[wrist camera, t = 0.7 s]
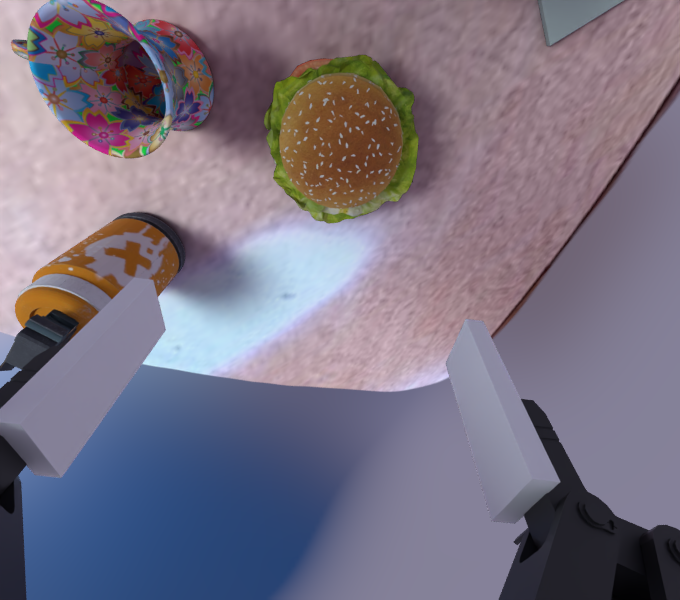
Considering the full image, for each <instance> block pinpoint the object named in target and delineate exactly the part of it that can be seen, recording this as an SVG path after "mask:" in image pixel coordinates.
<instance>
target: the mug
mask: <svg viewBox="0 0 680 600" xmlns="http://www.w3.org/2000/svg"><path fill="white" fill-rule="evenodd" d="M11 46H12V50H13V51H14V53H15V54H17V55H18V56H20V57H22V58H25V59H27V60H29V64H30V68H31V71H32V75H33V78H34V80H35V83H36V85H37V87H38V89H39V91H40V93H41V95H42V97H43V99H44V100H45V102H46V104H47V105H48V107H49V108H50V110H51V111H52V112H53V114H54V115H55V116H56V117H57V119H58V120H59V121H60V122H61V123H62V124H63V125H64V126H65V127H66V128H67V129H68V130H69V131H70V132H71V133H72V134H73V135H74V136H76V137H77V138H78V139H80V140H81V141H82V142H84V143H85V144H87V145H88V146H90V147H92V148H94V149H95V150H98V151H100V152H102V153H105V154H107V155H111V156H114V157H119V158H138V157H142V156H145V155H148V154H150V153H152V152H153V151H155V150H156V149H157V148H159V147H160V146H161V144H162V143H163V142H164V141H165V139H166V137H167V135H168V133H169V131H170V130H174V131H186V130H190V129H193V128H195V127H197V126H199V125H200V124H201V123H202V122H203V121H204V120H205V119H206V117H207V116H208V114H209V112H210V110H211V107H212V104H213V98H214V86H213V79H212V75H211V71H210V68H209V66H208V63H207V61H206V59H205V57H204V55H203V54H202V52H201V51H200V49H199V48H198V46H197V45H196V44H195V43H194V41H193V40H192V39H191V38H190V37H189V36H188V35H186V34H185V33H184V32H183V31H182V30H180V29H179V28H177V27H175V26H174V25H172V24H170V23H167V22H164V21H160V20H154V19H151V20H143V21H140V22H138V23H136V24H134V25H132V24H131V23H130V22H129V21H128V20H127V19H126V18H124V17H123V16H122V15H121V14H119V13H118V12H116V11H115V10H113V9H112V8H110V7H108V6H106V5H105V4H102V3H100V2H98V1H95V0H51V1H49V2H47V3H46V4H44V5H43V6H42V7H41V8H40V9H39V10H38V11H37V13H36V14H35V16H34V17H33V19H32V22H31V24H30V28H29V32H28V40H27V41H26V40H12V42H11Z"/></svg>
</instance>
